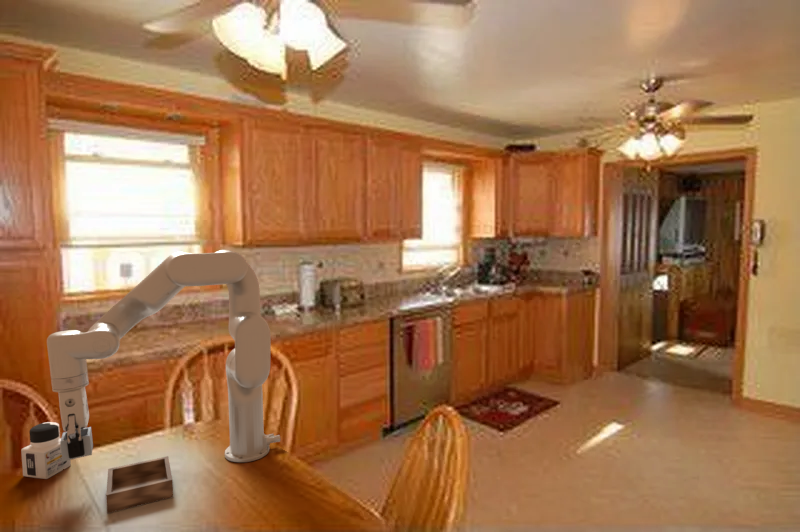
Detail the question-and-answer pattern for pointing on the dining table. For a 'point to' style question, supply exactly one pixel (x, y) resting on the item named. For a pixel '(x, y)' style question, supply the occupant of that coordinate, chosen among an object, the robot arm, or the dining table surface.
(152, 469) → the box
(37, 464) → the container
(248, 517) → the dining table surface
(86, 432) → the small crate
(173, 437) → the dining table surface
